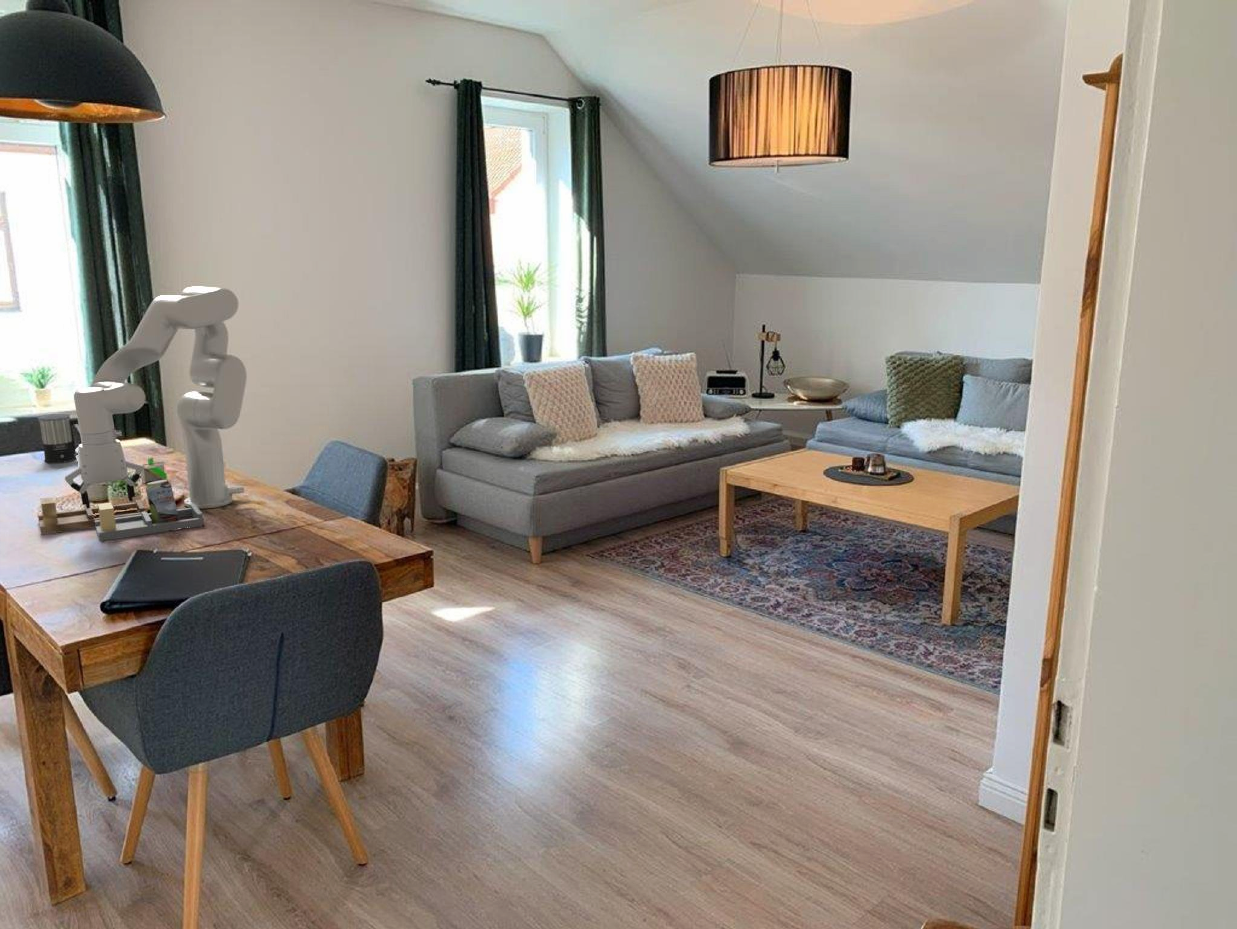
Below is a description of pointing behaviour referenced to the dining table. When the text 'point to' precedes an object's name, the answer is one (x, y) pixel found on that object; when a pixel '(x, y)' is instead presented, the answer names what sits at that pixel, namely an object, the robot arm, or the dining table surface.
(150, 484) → the grey printed packet
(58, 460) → the milk frother
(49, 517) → the plank with end posts
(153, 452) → the dining table surface
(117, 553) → the dining table surface
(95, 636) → the dining table surface
